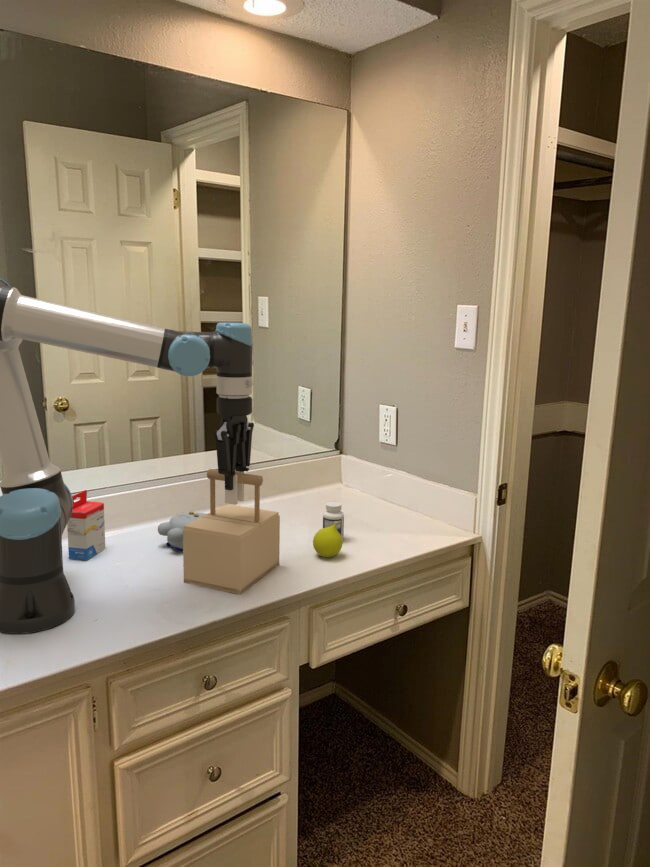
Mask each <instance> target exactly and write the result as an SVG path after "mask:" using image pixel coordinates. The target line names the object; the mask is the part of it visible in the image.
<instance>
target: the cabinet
mask: <svg viewBox="0 0 650 867" xmlns="http://www.w3.org/2000/svg"><path fill="white" fill-rule="evenodd" d="M280 522H281V516H280V515H278V516H277V517H275V518H274V519H272V520H270V521H269V522H267V523H265V524H264V525H262V526H260V524H259V523H253V522H247V521H241V520H235V519H229V518H223V517H217V516H211V515H204V516H202V517H201V518H199V519H197V520H195V521H193V522H191V523H189V524H187V525H185V526H184V529H183V551H182V556H183V557H182V560H183V563H182V564H183V583H185V584H189V585H193V586H198V587H202V588H203V587H204V588H207V589H212V590H216V591H221V592H224V593H225V592H227V593H232V594H234V595H242V594H243V593H245V592H246V591H247V590H248V589H250V588H251V587H252V586H254V585H255V584H256V583H258V582H259V581H260V580H262V579H263V578H264V577H265V576H267V575H268V574H269V573H271V572H272V571H274V569H276V568H277V567H278V566H280V545H281V544H280V543H281V542H280V541H281V540H280V537H281V535H280V534H281V532H280V531H281V529H280V525H281V524H280Z"/></svg>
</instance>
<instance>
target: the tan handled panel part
mask: <svg viewBox="0 0 650 867" xmlns="http://www.w3.org/2000/svg"><path fill="white" fill-rule="evenodd" d="M235 475H237V483H242V484H244V485H249V486H254V507H248V506H241V505H237V504H236V505H234V504H228V503H225V504H224V505H223V506H221V507H219V508H216V481H222V482H225V476H224V475H223V474H219V473H218V469H213V468H209V469H208V470H207V472H206V478H207V479H208V480H209V485H210V486H209V492H210V494H209V495H210V496H209V500H210V502H209V505H210V506H209V507H210V512H208V513H206V514H207V515H211V516H217V517H223V518H229V519H235V520H241V521H247V522H253V523H259V524H260V526H262V525H264V524H265V523H267V522H269V521H270V520H272V519H274V518H275V517H277V516H278V515H279V511H274V510H268V509H261V507H260V506H261V505H260V502H261V501H260V500H261V499H260V491H261V490H260V488H261V486H262V485H263V484H264V483H263V482H264V479H263V476H262V475H257V474H250V473H245V472H244V473H236V472H235Z"/></svg>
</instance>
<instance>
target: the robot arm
mask: <svg viewBox="0 0 650 867" xmlns="http://www.w3.org/2000/svg"><path fill="white" fill-rule="evenodd" d="M215 328H216V329H215V331H207V332H205V331H186V330H185V331H180V330H174V329H168V328H165V327H160V326H155V325H152V324H147V323H145V322H144V323H143V322H139V321H134V320H130V319H125V318H122V317H118V316H114V315H108V314H106V313H105V314H104V313H101V312H100V313H99V312H96V311H92V310H87V309H82V308H80V307H75V306H71V305H67V304H66V305H65V304H62V303H58V302H52V301H50V300H49V301H48V300H45V299H44V300H43V299H40V298H36V297H32V296H27V295H22V294H21V292H20V291H19V289H18V288H17V287H13V286H10V284H9V283H8V282H7V281H5V280H4V279H2V278H1V277H0V461H1V464H2V468H3V471H4V475H3V478H2V479H1V480H0V490H1V494H2V495H0V632H1V633H5V634H29V633H34V632H35V633H36V632H40V631H45V630H48V629H51V628H54V627H56V626H59V625H60V624H63V623H65V622H66V621H67V620H69V619H70V618H71V617H72V616H73V615H74V613H75V611H76V606H75V605H76V604H75V603H76V600H75V596H74V594H73V592H72V591H71V587H70V584H69V583H68V580H67V578H66V575H65V573H64V561H63V560H64V559H63V557H64V556H63V541H62V540H63V534H64V531H65V529H66V528H67V523H68V521H69V519H70V517H71V515H72V511H73V499H72V496H73V495H72V492H71V490H70V489H69V487H68V486H67V484H66V483H65V482H64V477H63V475H62V471H61V468H60V467H59V466H57V465H55V464H53V463H52V462H51V460H50V458H49V454H48V450H47V445H46V443H45V440H44V436H43V433H42V432H43V431H42V429H41V428H42V427H41V425H40V421H39V418H38V415H37V411H36V407H35V403H34V401H33V396H32V392H31V390H30V384H29V382H28V379H27V374H26V371H25V368H24V365H23V360H22V356H21V352H20V350H19V349H20V348H19V347H20V345H21V343H22V342H23V340H25V341H29V342H34V343H38V344H39V343H40V344H43V345H49V346H53V347H57V348H62V349H67V350H71V351H72V350H73V351H77V352H82V353H87V354H91V355H94V356H95V355H96V356H100V357H106V358H109V359H115V360H120V361H124V362H129V363H134V364H139V365H144V366H148V367H152V368H153V367H154V368H156V369H157V368H158V369H161V370H164V371H165V370H166V371H170V372H175V373H177V374H179V375H180V376H185V377H194V376H198V375H200V374H202V373H203V372H204V371H205V370H206V369H207V368H208V369H216V394H217V395H218V396H217V398H216V413H217V414H218V415H220V416H221V422H220V428H219V429H218V430H214V431H213V436H214V440H215V445H216V460H217V470H218V473H219V474H223V475H224V476H225V481H224V504H230V505H236V506H237V505H238V502H244V501H245V484H242V483H237V475H235V472H236V473H244V474H245V472H249V471H250V465H251V454H252V438H253V431H254V426H255V425H254V422H251V421H250V422H249V421H248V416H250V415H251V414H252V413H253V398H252V396H251V395H252V393H253V385H254V382H253V347H254V345H253V331H252V327H251V325H250V324H249V323H245V322H218V323H217V324H216V326H215Z"/></svg>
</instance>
